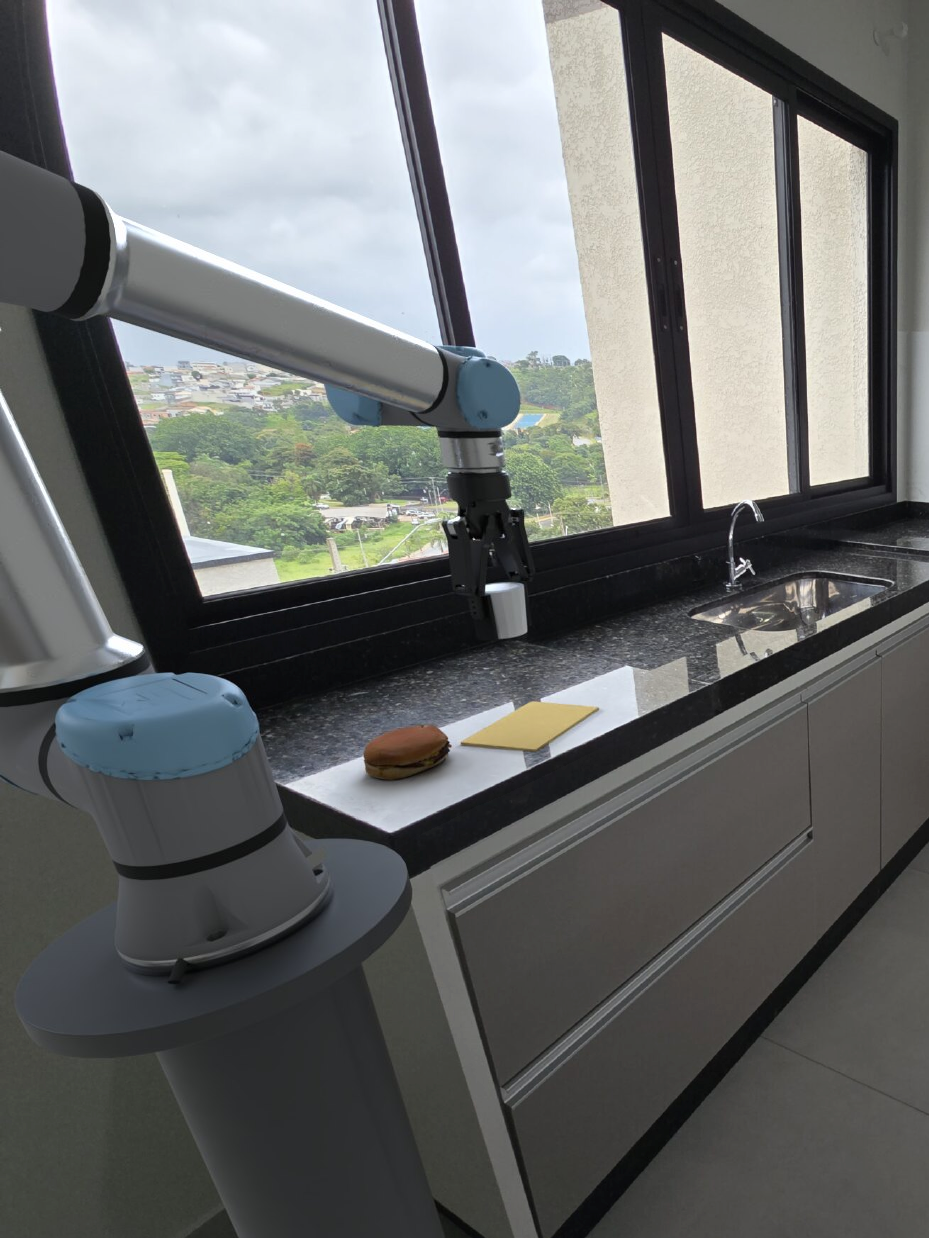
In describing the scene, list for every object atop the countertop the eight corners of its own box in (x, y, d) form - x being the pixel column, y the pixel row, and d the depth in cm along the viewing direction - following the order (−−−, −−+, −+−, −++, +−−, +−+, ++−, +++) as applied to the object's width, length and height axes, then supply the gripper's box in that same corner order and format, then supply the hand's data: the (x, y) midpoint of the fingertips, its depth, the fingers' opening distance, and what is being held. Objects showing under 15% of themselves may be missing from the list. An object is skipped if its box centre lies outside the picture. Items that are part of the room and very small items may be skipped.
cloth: (536, 752, 105) (535, 749, 105) (460, 744, 107) (460, 742, 107) (599, 709, 120) (598, 706, 120) (531, 703, 122) (531, 701, 121)
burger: (353, 783, 96) (344, 750, 94) (388, 752, 104) (380, 722, 103) (436, 778, 97) (429, 746, 95) (464, 748, 106) (457, 718, 104)
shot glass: (496, 643, 105) (487, 594, 102) (470, 635, 108) (460, 588, 106) (541, 631, 110) (533, 585, 108) (515, 624, 114) (506, 579, 111)
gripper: (447, 477, 91) (482, 654, 99) (546, 465, 110) (568, 615, 118) (394, 475, 93) (432, 650, 101) (500, 464, 111) (525, 613, 119)
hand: (505, 631), depth 109 cm, fingers closed on shot glass, 7 cm apart
